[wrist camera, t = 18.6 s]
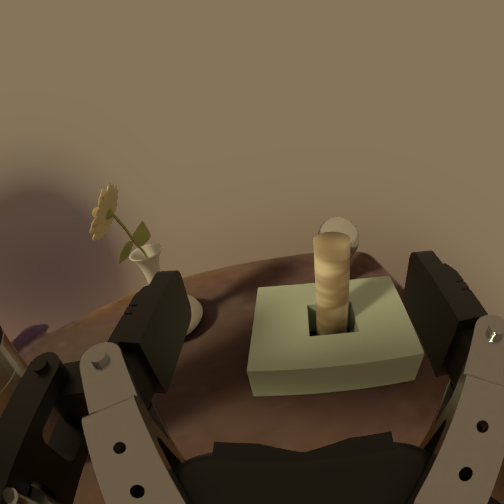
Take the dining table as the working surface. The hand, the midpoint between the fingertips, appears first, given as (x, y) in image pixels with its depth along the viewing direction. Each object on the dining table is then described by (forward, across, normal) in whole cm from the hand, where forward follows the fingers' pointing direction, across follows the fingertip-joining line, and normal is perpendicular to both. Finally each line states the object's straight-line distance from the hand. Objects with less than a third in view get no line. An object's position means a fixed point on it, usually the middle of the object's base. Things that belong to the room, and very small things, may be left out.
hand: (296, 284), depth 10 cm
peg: (+20, -4, +25) cm, 32 cm away
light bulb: (+35, -8, +26) cm, 44 cm away
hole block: (+20, -4, +25) cm, 32 cm away
